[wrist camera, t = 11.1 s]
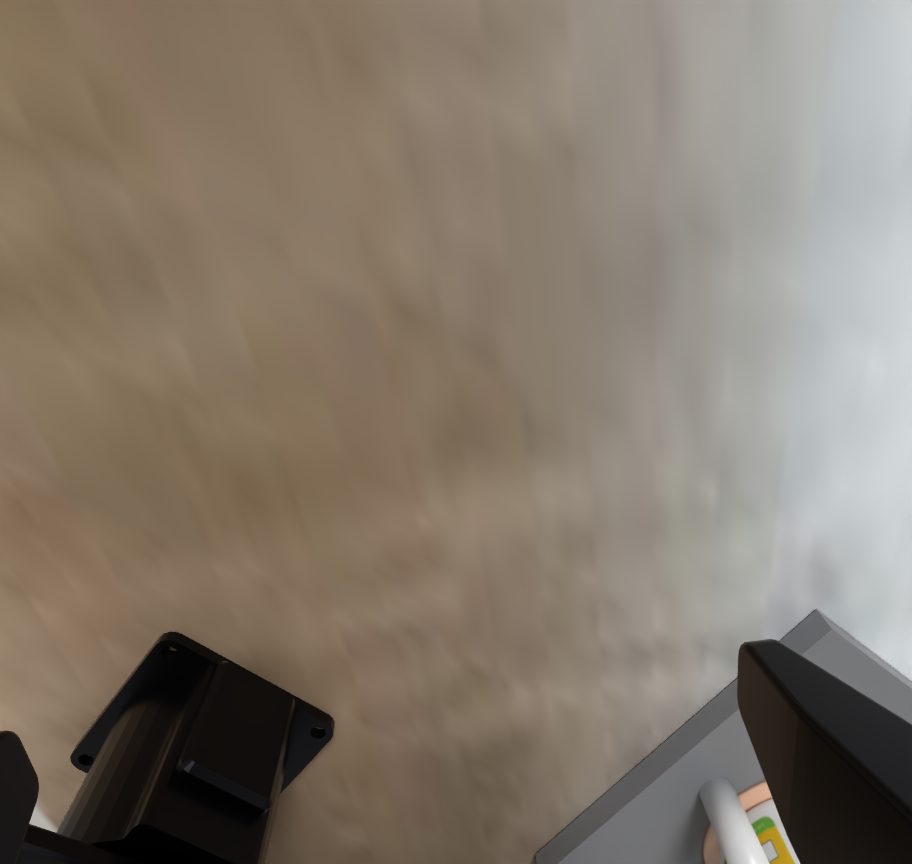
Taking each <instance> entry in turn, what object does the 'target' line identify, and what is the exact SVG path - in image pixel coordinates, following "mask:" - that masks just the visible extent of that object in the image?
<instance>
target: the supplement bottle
mask: <svg viewBox="0 0 912 864" xmlns="http://www.w3.org/2000/svg"><path fill="white" fill-rule="evenodd" d="M746 814H747V816H748V818H749V821H750V823H751V825H752V827H753V829H754V831H755V833H756V836H757V838H758V840H759V842H760V844H761V846H762V848H763V851H764V853H765V855H766V857H767V859H768V861H769V864H800V862H799V860H798V858H797V856H796V854H795V852H794V849H793V847H792V845H791V843H790V841H789V839H788V837H787V834H786V832H785V829H784V827H783V824H782V822H781V819H780V817H779V814H778V812H777V809H776V806H775V804H774V801H773V798H772V799H770V800H767V801H765V802H763V803H761V804H759V805H757V806H755V807H754V808H752V809H751V810H749V811H748V812H746ZM720 864H727V862H726V859H725V857H724V854H723V852H722V850H721V849H720Z"/></svg>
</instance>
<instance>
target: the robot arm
mask: <svg viewBox="0 0 912 864" xmlns="http://www.w3.org/2000/svg"><path fill="white" fill-rule="evenodd" d="M169 646H170V647H174V648H175V649H176V650H177V651H172V650H169V649H168V648H167V647H169ZM737 701H738V707H739V710H740V714H741V717H742V719H743V722H744V725H745V727H746V730H747V733H748V735H749V738H750V741H751V743H752V746H753V748H754V751H755V754H756V756H757V759H758V762H759V764H760V767H761V770H762V772H763V775H764V777H765V780H766V783H767V785H768V788H769V791H770V793H771V796H772V798H773V801H774V804H775V806H776V809H777V812H778V814H779V817H780V819H781V822H782V824H783V827H784V829H785V832H786V834H787V837H788V839H789V841H790V843H791V845H792V847H793V849H794V852H795V854H796V856H797V858H798V860H799V862H800V864H912V724H911V723H910V722H908V721H906V720H905V719H903V718H902V717H900V716H898V715H897V714H895V713H894V712H892V711H890V710H889V709H887V708H886V707H884V706H882V705H881V704H879V703H878V702H876V701H874V700H873V699H871V698H869V697H868V696H866V695H865V694H863V693H861V692H860V691H858V690H857V689H855V688H853V687H852V686H850V685H849V684H847V683H845V682H844V681H842V680H841V679H839V678H837V677H836V676H834V675H833V674H831V673H829V672H828V671H826V670H824V669H823V668H821V667H820V666H818V665H816V664H815V663H813V662H812V661H810V660H808V659H807V658H805V657H804V656H802V655H800V654H799V653H797V652H796V651H794V650H792V649H791V648H789V647H788V646H786V645H784V644H783V643H781V642H779V641H777V640H774V639H767V640H759V641H750V642H745V643H743V644H742V645H741V646H740V649H739V655H738V678H737ZM314 727H321V728H323V729H316V728H314ZM333 732H334V720H333V718H332V717H331V716H330V715H328V714H327V713H325V712H323V711H321V710H319V709H318V708H316V707H314V706H312V705H310V704H309V703H307V702H305V701H303V700H301V699H299V698H298V697H296V696H294V695H292V694H290V693H288V692H287V691H285V690H283V689H281V688H279V687H277V686H276V685H274V684H272V683H270V682H268V681H267V680H265V679H263V678H261V677H259V676H257V675H256V674H254V673H252V672H250V671H248V670H246V669H245V668H243V667H241V666H239V665H237V664H236V663H234V662H232V661H230V660H228V659H226V658H225V657H223V656H221V655H219V654H217V653H215V652H214V651H212V650H210V649H208V648H206V647H205V646H203V645H201V644H199V643H197V642H195V641H194V640H192V639H190V638H188V637H186V636H184V635H183V634H180V633H177V632H167V633H164V634H163V635H162V636H160V637H159V639H158V640H157V641H156V643H155V644H154V645H153V647H152V648H151V649H150V650H149V652H148V653H147V654H146V656H145V657H144V658H143V660H142V661H141V662H140V663H139V665H138V666H137V667H136V669H135V670H134V671H133V673H132V674H131V675H130V676H129V678H128V679H127V680H126V682H125V683H124V684H123V685H122V687H121V688H120V689H119V691H118V692H117V693H116V695H115V696H114V697H113V698H112V700H111V701H110V702H109V704H108V705H107V706H106V708H105V709H104V710H103V711H102V713H101V714H100V715H99V717H98V718H97V719H96V721H95V722H94V723H93V724H92V726H91V727H90V728H89V730H88V731H87V732H86V734H85V735H84V736H83V737H82V739H81V740H80V741H79V743H78V744H77V746H76V747H75V749H74V751H73V753H72V755H71V757H70V758H71V762H72V764H73V765H74V766H75V767H76V768H78V769H79V770H82V771H84V772H86V773H88V774H87V776H86V778H85V780H84V782H83V783H82V785H81V787H80V789H79V791H78V793H77V795H76V797H75V799H74V801H73V802H72V804H71V806H70V808H69V810H68V812H67V814H66V816H65V818H64V820H63V821H62V823H61V825H60V827H59V829H58V831H57V833H55V832H52V831H49V830H46V829H43V828H40V827H37V826H34V825H31V824H29V822H30V819H31V816H32V813H33V810H34V807H35V804H36V801H37V797H38V791H39V783H38V777H37V774H36V772H35V770H34V768H33V766H32V764H31V762H30V759H29V757H28V755H27V753H26V751H25V749H24V747H23V745H22V742H21V740H20V738H19V737H18V735H16V734H15V733H14V732H12V731H0V864H265V859H266V855H267V850H268V846H269V841H270V837H271V832H272V828H273V823H274V819H275V814H276V810H277V805H278V801H279V796H280V793H281V792H282V791H283V790H284V789H285V788H286V787H287V786H288V785H289V784H290V783H291V782H292V781H293V779H294V778H295V777H296V776H297V775H298V774H299V773H300V772H301V771H302V770H303V769H304V768H305V767H306V765H307V764H308V763H309V762H310V761H311V760H312V759H313V758H314V757H315V756H316V755H317V754H318V753H319V752H320V750H321V749H322V748H323V747H324V746H325V745H326V744H327V743H328V742H329V741H330V740H331V738H332V736H333ZM88 755H90V756H88Z"/></svg>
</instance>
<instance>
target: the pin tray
mask: <svg viewBox="0 0 912 864" xmlns="http://www.w3.org/2000/svg"><path fill="white" fill-rule="evenodd" d="M779 642H781V643H783V644H784V645H786V646H788V647H789V648H791V649H792V650H794V651H796V652H797V653H799V654H800V655H802V656H804V657H805V658H807V659H808V660H810V661H812V662H813V663H815V664H816V665H818V666H820V667H821V668H823V669H824V670H826V671H828V672H829V673H831V674H833V675H834V676H836V677H837V678H839V679H841V680H842V681H844V682H845V683H847V684H849V685H850V686H852V687H853V688H855V689H857V690H858V691H860V692H861V693H863V694H865V695H866V696H868V697H869V698H871V699H873V700H874V701H876V702H878V703H879V704H881V705H882V706H884V707H886V708H887V709H889V710H890V711H892V712H894V713H895V714H897V715H898V716H900V717H902V718H903V719H905V720H906V721H908V722H910V723H911V724H912V681H910V680H909V679H908V678H906V677H905V676H904V675H902V674H901V673H900V672H899V671H897V670H896V669H895V668H893V667H892V666H891V665H889V664H888V663H887V662H885V661H884V660H883V659H881V658H880V657H879V656H877V655H876V654H875V653H873V652H872V651H871V650H870V649H868V648H867V647H866V646H864V645H863V644H862V643H860V642H859V641H858V640H856V639H855V638H854V637H852V636H851V635H850V634H848V633H847V632H846V631H844V630H843V629H842V628H840V627H839V626H838V625H837V624H835V623H834V622H833V621H831V620H830V619H829V618H827V617H826V616H825V615H823V614H822V613H821V612H819V611H818V610H817V609H816V610H815V611H814V612H813V613H811V614H810V615H809V616H808V617H807V618H806V619H805V620H803V621H802V622H801V623H800V624H799V625H798V626H796V627H795V628H794V629H793V630H792V631H791V632H790V633H788V634H787V635H786V636H785V637H784V638H783V639H782V640H780V641H779ZM770 799H772V796H771V793H770V791H769V788H768V785H767V783H766V780H765V777H764V775H763V772H762V770H761V767H760V764H759V762H758V759H757V756H756V754H755V751H754V748H753V746H752V743H751V741H750V738H749V735H748V733H747V730H746V727H745V725H744V722H743V719H742V717H741V714H740V710H739V707H738V701H737V679H736V680H735V681H733V682H732V683H731V684H730V685H729V686H728V687H727V688H725V689H724V690H723V691H722V692H721V693H720V694H719V695H717V696H716V697H715V698H714V699H713V700H712V701H711V702H709V703H708V704H707V705H706V706H705V707H704V708H702V709H701V710H700V711H699V712H698V713H697V714H696V715H694V716H693V717H692V718H691V719H690V720H689V721H688V722H686V723H685V724H684V725H683V726H682V727H681V728H680V729H678V730H677V731H676V732H675V733H674V734H673V735H672V736H670V737H669V738H668V739H667V740H666V741H665V742H664V743H662V744H661V745H660V746H659V747H658V748H657V749H655V750H654V751H653V752H652V753H651V754H650V755H649V756H647V757H646V758H645V759H644V760H643V761H642V762H641V763H639V764H638V765H637V766H636V767H635V768H634V769H633V770H631V771H630V772H629V773H628V774H627V775H626V776H625V777H623V778H622V779H621V780H620V781H619V782H618V783H617V784H615V785H614V786H613V787H612V788H611V789H610V790H608V791H607V792H606V793H605V794H604V795H603V796H602V797H600V798H599V799H598V800H597V801H596V802H595V803H594V804H592V805H591V806H590V807H589V808H588V809H587V810H586V811H584V812H583V813H582V814H581V815H580V816H579V817H578V818H576V819H575V820H574V821H573V822H572V823H571V824H570V825H568V826H567V827H566V828H565V829H564V830H563V831H562V832H560V833H559V834H558V835H557V836H556V837H555V838H553V839H552V840H551V841H550V842H549V843H548V844H547V845H545V846H544V847H543V848H542V849H541V850H540V851H539V852H537V853H536V854H535V856H536V862H537V864H720V849H721V850H722V852H723V854H724V857H725V859H726V862H727V864H769V861H768V859H767V857H766V855H765V853H764V851H763V848H762V846H761V844H760V842H759V840H758V838H757V836H756V833H755V831H754V829H753V827H752V825H751V823H750V821H749V818H748V816H747V814H746V812H748V811H749V810H751V809H752V808H754V807H755V806H757V805H759V804H761V803H763V802H765V801H767V800H770Z"/></svg>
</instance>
